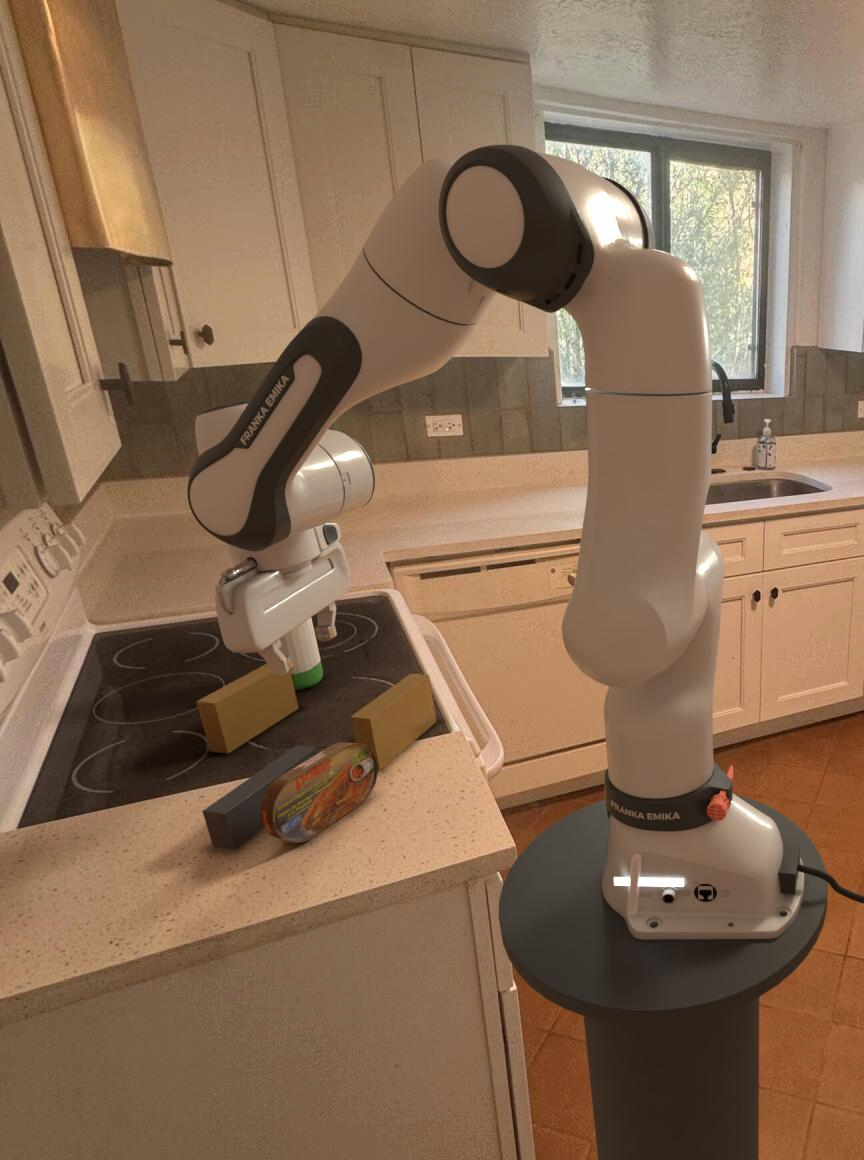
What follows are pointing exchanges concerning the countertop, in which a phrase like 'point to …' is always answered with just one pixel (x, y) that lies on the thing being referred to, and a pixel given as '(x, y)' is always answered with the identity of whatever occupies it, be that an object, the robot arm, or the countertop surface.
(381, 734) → the khaki rectangular brick
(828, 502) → the countertop surface
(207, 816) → the grey rectangular block
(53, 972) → the countertop surface
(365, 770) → the tin
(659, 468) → the robot arm
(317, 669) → the wine bottle
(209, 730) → the tan cardboard-coloured block
